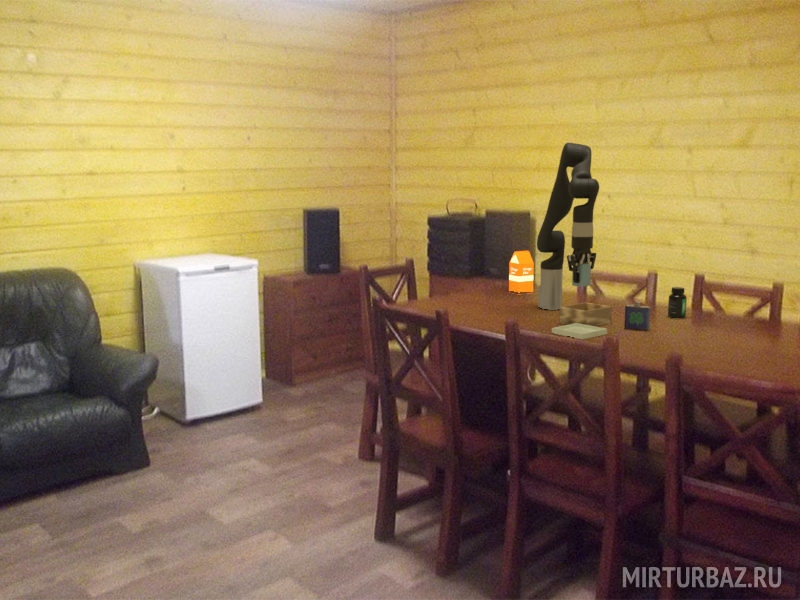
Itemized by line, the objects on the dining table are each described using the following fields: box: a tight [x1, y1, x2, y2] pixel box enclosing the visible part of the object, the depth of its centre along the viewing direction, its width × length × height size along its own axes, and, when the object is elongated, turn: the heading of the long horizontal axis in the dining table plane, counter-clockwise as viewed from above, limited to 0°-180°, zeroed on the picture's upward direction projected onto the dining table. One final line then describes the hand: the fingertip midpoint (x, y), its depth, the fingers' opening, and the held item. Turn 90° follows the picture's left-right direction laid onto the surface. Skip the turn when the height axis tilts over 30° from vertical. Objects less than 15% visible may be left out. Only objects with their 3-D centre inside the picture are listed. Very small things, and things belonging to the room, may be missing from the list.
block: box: [571, 262, 592, 288], centre depth 294 cm, size 4×4×8 cm
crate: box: [559, 302, 613, 327], centre depth 316 cm, size 13×16×6 cm
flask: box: [623, 301, 651, 332], centre depth 303 cm, size 9×3×11 cm, turn 63°
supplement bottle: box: [667, 286, 688, 319], centre depth 326 cm, size 7×7×12 cm
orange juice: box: [508, 250, 535, 293], centre depth 390 cm, size 8×9×20 cm
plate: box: [551, 323, 608, 340], centre depth 298 cm, size 14×14×2 cm
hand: (580, 281), depth 295 cm, fingers closed on block, 4 cm apart
